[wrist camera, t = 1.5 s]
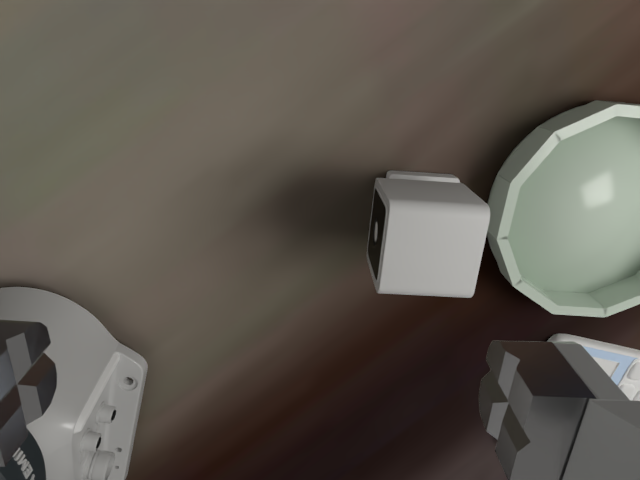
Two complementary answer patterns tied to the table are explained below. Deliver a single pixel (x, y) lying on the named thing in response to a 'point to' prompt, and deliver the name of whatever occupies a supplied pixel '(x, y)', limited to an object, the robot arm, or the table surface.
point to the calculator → (612, 362)
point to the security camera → (426, 235)
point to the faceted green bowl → (572, 211)
